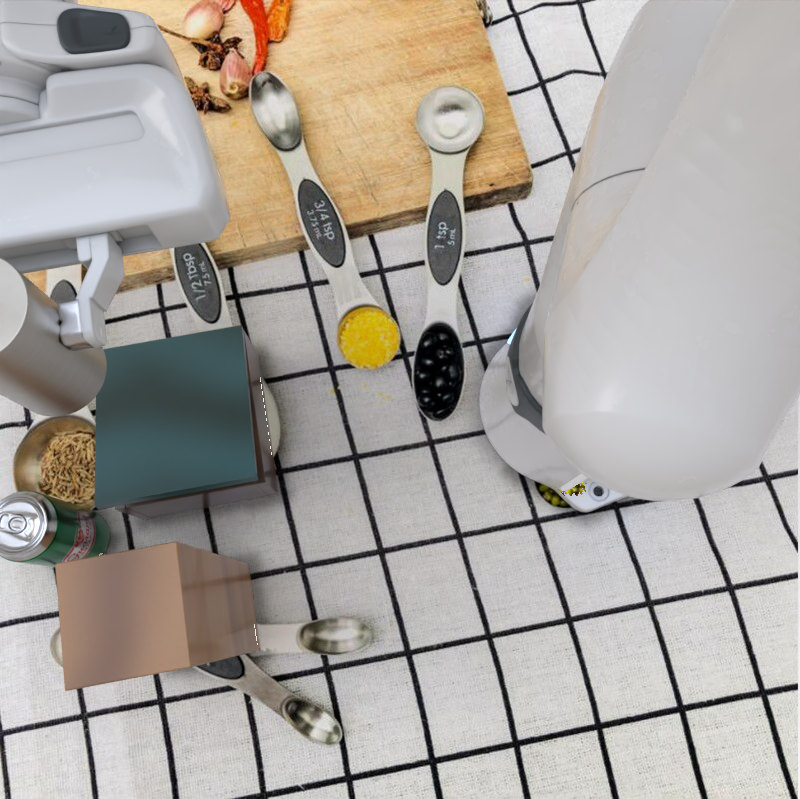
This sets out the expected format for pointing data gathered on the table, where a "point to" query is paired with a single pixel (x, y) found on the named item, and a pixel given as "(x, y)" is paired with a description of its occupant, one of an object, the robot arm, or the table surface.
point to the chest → (234, 492)
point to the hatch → (174, 418)
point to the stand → (152, 613)
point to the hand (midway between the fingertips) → (16, 357)
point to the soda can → (49, 530)
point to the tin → (41, 352)
